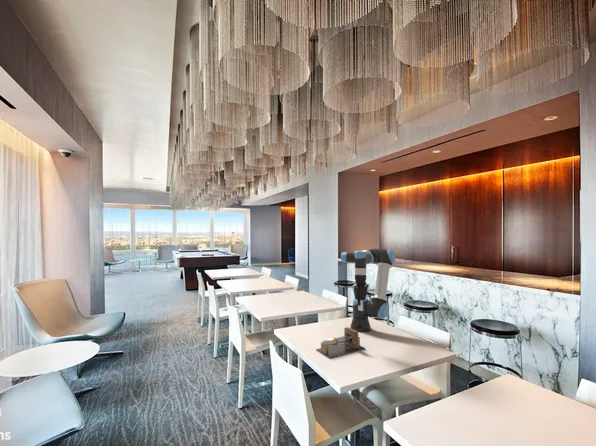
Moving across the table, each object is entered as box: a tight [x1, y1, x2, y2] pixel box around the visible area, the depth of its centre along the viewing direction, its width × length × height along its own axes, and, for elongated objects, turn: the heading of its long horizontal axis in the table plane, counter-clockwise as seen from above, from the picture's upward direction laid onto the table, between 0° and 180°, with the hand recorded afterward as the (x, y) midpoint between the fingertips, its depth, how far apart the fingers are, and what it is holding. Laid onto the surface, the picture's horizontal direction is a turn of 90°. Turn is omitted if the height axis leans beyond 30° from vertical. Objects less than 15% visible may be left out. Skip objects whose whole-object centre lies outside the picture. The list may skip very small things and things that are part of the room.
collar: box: [343, 326, 359, 349], centre depth 187 cm, size 3×10×10 cm, turn 31°
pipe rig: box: [315, 335, 366, 359], centre depth 183 cm, size 28×14×8 cm, turn 121°
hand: (360, 310), depth 192 cm, fingers closed
